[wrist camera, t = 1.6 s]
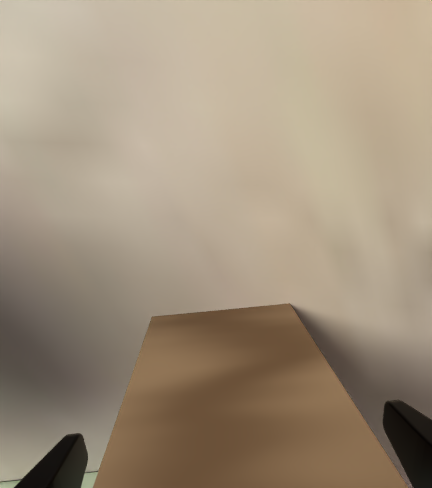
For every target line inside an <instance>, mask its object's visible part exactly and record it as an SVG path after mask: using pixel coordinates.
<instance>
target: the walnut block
mask: <svg viewBox="0 0 432 488" xmlns="http://www.w3.org/2000/svg"><path fill="white" fill-rule="evenodd" d="M93 488H408V486H407V485H406V483H405V482H404V480H403V479H402V477H401V475H400V474H399V472H398V471H397V469H396V468H395V466H394V465H393V463H392V461H391V460H390V458H389V457H388V455H387V454H386V452H385V451H384V449H383V447H382V446H381V444H380V443H379V441H378V440H377V438H376V437H375V435H374V434H373V432H372V430H371V429H370V427H369V426H368V424H367V423H366V421H365V420H364V418H363V416H362V415H361V413H360V412H359V410H358V409H357V407H356V406H355V404H354V402H353V401H352V399H351V398H350V396H349V395H348V393H347V392H346V390H345V389H344V387H343V385H342V384H341V382H340V381H339V379H338V378H337V376H336V375H335V373H334V371H333V370H332V368H331V367H330V365H329V364H328V362H327V361H326V359H325V357H324V356H323V354H322V353H321V351H320V350H319V348H318V347H317V345H316V344H315V342H314V340H313V339H312V337H311V336H310V334H309V333H308V331H307V330H306V328H305V326H304V325H303V323H302V322H301V320H300V319H299V317H298V316H297V314H296V312H295V311H294V309H293V308H292V306H291V305H290V304H280V305H270V306H260V307H249V308H239V309H229V310H218V311H208V312H197V313H187V314H177V315H166V316H156V317H152V318H151V321H150V324H149V327H148V330H147V333H146V336H145V339H144V341H143V344H142V347H141V350H140V353H139V356H138V359H137V362H136V364H135V367H134V370H133V373H132V376H131V379H130V382H129V385H128V388H127V390H126V393H125V396H124V399H123V402H122V405H121V408H120V411H119V413H118V416H117V419H116V422H115V425H114V428H113V431H112V434H111V436H110V439H109V442H108V445H107V448H106V451H105V454H104V457H103V460H102V462H101V465H100V468H99V471H98V474H97V477H96V480H95V483H94V485H93Z"/></svg>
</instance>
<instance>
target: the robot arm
mask: <svg viewBox="0 0 432 488" xmlns="http://www.w3.org/2000/svg"><path fill="white" fill-rule="evenodd" d="M383 427H384V430H385V432H386V434H387V436H388V438H389V440H390V442H391V444H392V446H393V448H394V450H395V452H396V454H397V456H398V458H399V460H400V462H401V464H402V466H403V468H404V470H405V472H406V474H407V476H408V478H409V480H410V482H411V484H412V486H413V488H432V420H431V419H430V418H428V417H426V416H425V415H423V414H422V413H420V412H418V411H417V410H415V409H414V408H412V407H411V406H409V405H407V404H406V403H404V402H402V401H400V400H393V401H387V402H386V403H385V405H384V414H383ZM87 461H88V453H87V449H86V446H85V442H84V438H83V436H82V434H80V433H77V434H69V435H66V436H65V437H64V438H63V439H62V440H61V441H60V442H59V443H58V444H57V445H56V446H55V447H54V448H53V449H52V450H51V451H50V452H49V453H48V454H47V455H46V456H45V457H44V458H43V459H42V460H41V461H40V462H39V463H38V464H37V465H36V466H35V467H34V468H33V469H32V470H31V471H30V472H29V473H28V474H27V475H26V476H25V477H24V478H23V479H22V480H21V481H20V482H19V483H18V484H17V485H16V486H15V487H14V488H81V486H82V482H83V478H84V474H85V470H86V466H87Z"/></svg>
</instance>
